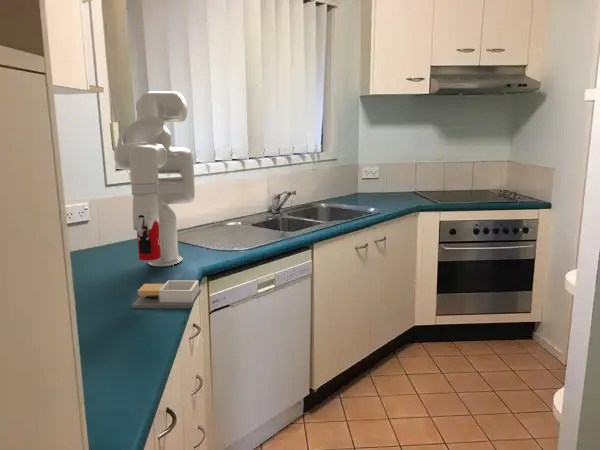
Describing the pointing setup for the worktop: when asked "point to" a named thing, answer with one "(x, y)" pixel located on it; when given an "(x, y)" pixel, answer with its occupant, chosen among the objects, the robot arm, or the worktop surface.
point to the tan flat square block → (150, 289)
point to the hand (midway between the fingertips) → (149, 249)
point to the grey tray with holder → (172, 295)
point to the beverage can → (152, 245)
